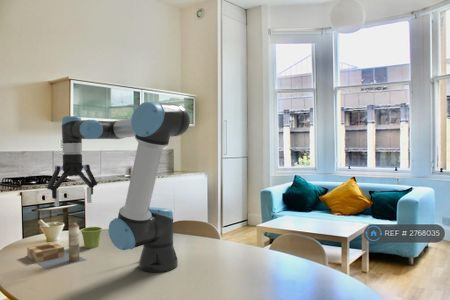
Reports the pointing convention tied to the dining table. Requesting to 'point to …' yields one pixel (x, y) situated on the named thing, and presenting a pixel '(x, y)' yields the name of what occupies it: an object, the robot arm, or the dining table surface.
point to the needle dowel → (73, 242)
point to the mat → (57, 261)
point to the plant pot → (91, 236)
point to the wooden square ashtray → (45, 252)
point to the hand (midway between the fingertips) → (73, 204)
